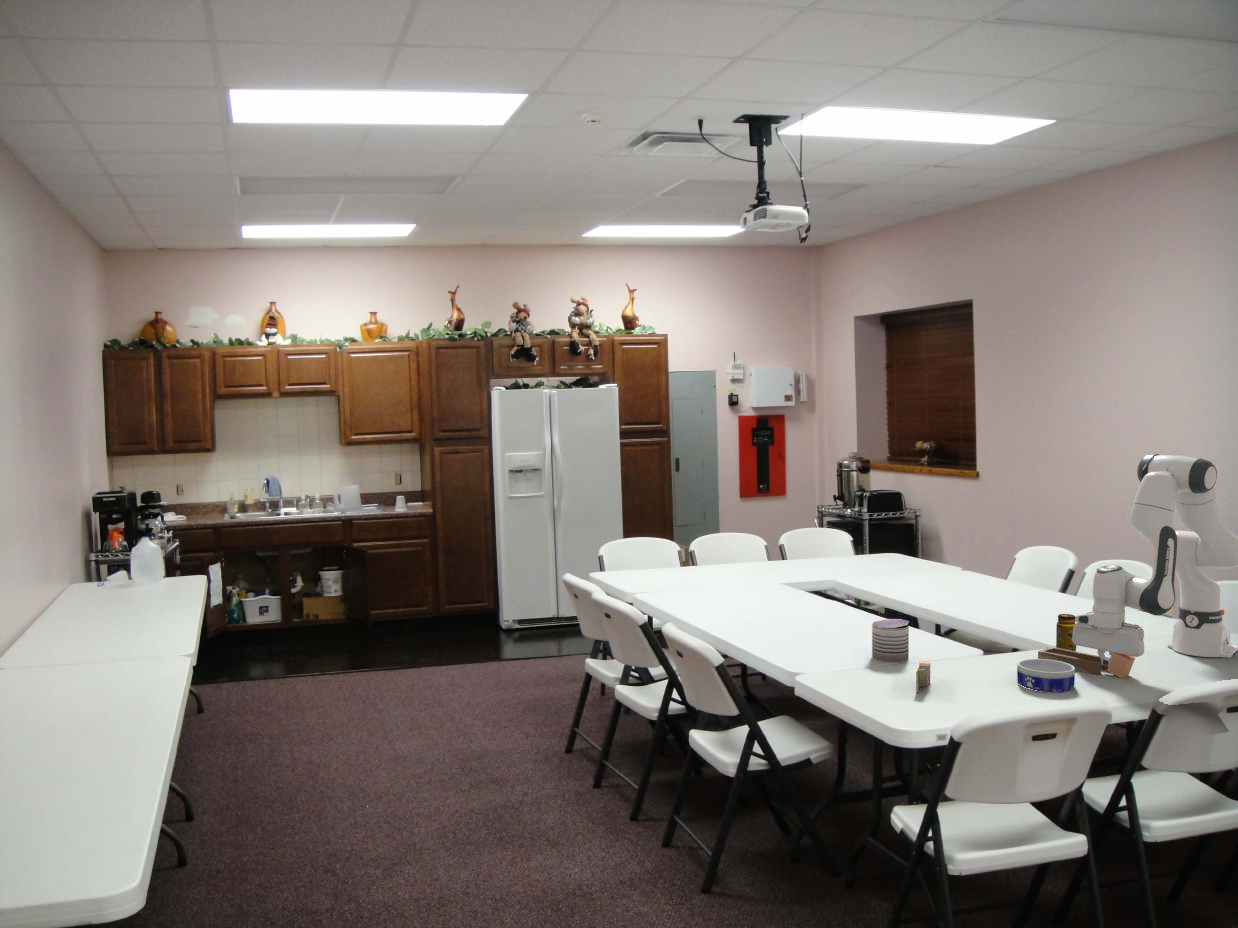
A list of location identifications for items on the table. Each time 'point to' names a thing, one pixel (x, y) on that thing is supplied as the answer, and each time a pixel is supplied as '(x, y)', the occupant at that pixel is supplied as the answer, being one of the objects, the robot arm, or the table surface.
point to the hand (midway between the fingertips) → (1107, 665)
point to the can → (890, 640)
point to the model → (922, 674)
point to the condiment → (1065, 632)
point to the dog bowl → (1046, 675)
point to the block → (1121, 664)
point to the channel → (1074, 659)
